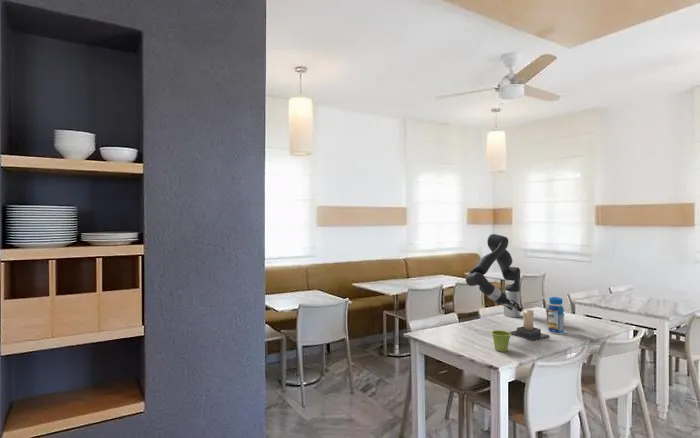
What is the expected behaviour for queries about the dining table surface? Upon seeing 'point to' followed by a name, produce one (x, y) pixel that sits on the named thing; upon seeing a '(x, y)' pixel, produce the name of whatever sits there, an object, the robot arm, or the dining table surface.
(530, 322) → the tan wooden block
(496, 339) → the plant pot
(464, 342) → the dining table surface
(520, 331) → the black socket base
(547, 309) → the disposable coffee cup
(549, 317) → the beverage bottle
